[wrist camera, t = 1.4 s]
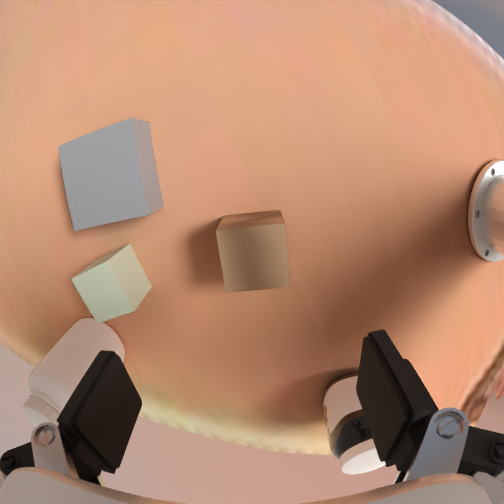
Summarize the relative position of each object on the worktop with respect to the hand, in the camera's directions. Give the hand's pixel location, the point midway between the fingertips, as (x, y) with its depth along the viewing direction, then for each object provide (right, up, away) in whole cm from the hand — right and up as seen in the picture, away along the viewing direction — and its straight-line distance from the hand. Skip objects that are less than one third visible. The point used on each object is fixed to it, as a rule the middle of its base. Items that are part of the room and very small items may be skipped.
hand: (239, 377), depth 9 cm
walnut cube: (+1, +6, +16) cm, 17 cm away
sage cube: (-13, +2, +17) cm, 22 cm away
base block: (-12, +12, +14) cm, 22 cm away
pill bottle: (-19, -7, +21) cm, 29 cm away
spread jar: (+15, -15, +23) cm, 31 cm away
